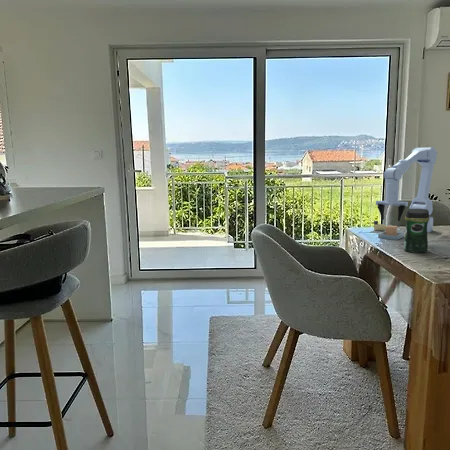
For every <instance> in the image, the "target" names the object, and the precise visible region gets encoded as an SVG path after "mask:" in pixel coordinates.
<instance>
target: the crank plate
mask: <svg viewBox="0 0 450 450" xmlns="http://www.w3.org/2000/svg"><path fill="white" fill-rule="evenodd" d="M382 232H384V231H381V230H374V229H373V231H370V233H374V234H380V233H382ZM397 232H399V233H406V230H402V229H401V230H400V229H397Z"/></svg>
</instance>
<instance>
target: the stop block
mask: <svg viewBox="0 0 450 450" xmlns="http://www.w3.org/2000/svg"><path fill="white" fill-rule="evenodd" d="M390 225H391V224H390ZM390 225H389V226H386V232H385V235H392V236H397V230H398V226H397V225H391V226H390Z"/></svg>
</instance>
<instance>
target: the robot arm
mask: <svg viewBox="0 0 450 450" xmlns="http://www.w3.org/2000/svg"><path fill="white" fill-rule="evenodd" d="M437 157H438V152H437V150H436V148H435V147H434V146H430V147H415V148H413V149H412V150H411V154H409V155H408V156H407V157H406V158H405V159H399V160H398V162H396V163H395V164H393V166H391V167H388V168H386V169H385V171H384V172H383V178H384V182H385V200H376V201H375V206H377V209H378V211H379V214H380V218H381V221H383V220H384V219H385V208H386V206H390V207H391V206H394V207H397V209H398V213H397V214H398V215H397V221H398V222H400V221H401V218H402V216H403V213H404V211H405V209H406V207H408V206H409V209H427V210H428V211H429V221H428V224H427V233H431V232H433V228H434V217H433V216H431V215H432V213H433V210H434V207H433V201H432V200H431V199H430V198H429V196H430V189H431V184H432V180H433V179H432V177H433V173H434V166H435V164H436V162H437ZM415 162H416V163H417V164H419V165H420V166H421V171H420V177H419V183H418V188H417V195H416V196H415V198H413V199H412V200H411V203H410V205H409V202H408V201H399V188H400V187H399V186H400V180H401V179H402V177H403V175H404V173H405V172H407V171H408V170H409V169H410V167H411V165H412V164H414V163H415Z"/></svg>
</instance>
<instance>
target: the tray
mask: <svg viewBox="0 0 450 450" xmlns="http://www.w3.org/2000/svg"><path fill="white" fill-rule="evenodd" d="M385 232H386V231H384V232H382V233H377V238H378V239H385V240H392V241H399V240H400V239H402V238H405V232H403V233H399V232H397V236H392V235H385Z"/></svg>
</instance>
